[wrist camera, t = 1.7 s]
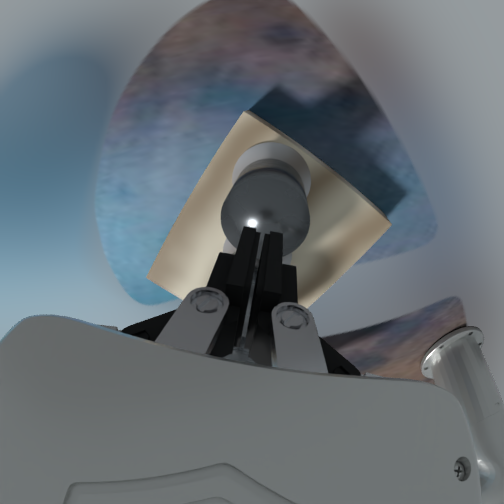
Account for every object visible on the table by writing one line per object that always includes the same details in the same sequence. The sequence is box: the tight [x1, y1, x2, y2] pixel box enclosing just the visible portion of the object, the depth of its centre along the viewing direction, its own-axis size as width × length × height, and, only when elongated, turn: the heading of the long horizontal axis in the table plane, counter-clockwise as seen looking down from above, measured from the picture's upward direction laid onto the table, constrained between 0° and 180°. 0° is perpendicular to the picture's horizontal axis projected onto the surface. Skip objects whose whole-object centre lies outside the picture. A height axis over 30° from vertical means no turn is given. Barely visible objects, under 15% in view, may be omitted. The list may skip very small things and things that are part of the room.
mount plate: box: [146, 110, 392, 308], centre depth 27 cm, size 16×20×3 cm
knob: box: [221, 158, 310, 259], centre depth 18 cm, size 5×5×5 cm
